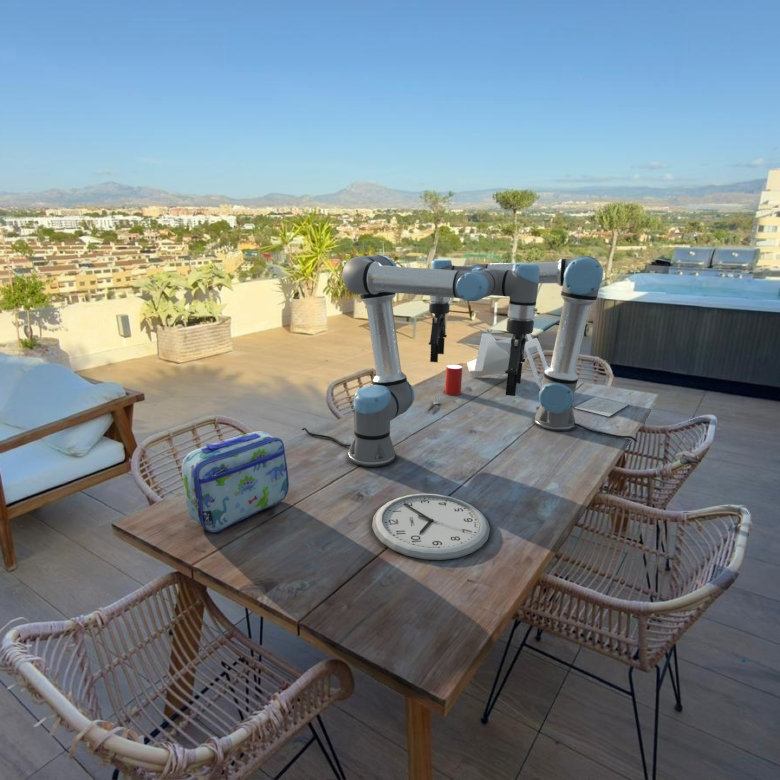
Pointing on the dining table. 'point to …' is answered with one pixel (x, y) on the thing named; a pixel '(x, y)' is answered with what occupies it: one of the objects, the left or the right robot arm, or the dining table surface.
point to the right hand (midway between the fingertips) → (437, 357)
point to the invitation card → (601, 406)
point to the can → (453, 379)
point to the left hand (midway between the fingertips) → (513, 388)
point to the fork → (434, 403)
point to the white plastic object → (502, 356)
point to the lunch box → (234, 479)
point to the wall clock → (431, 526)
